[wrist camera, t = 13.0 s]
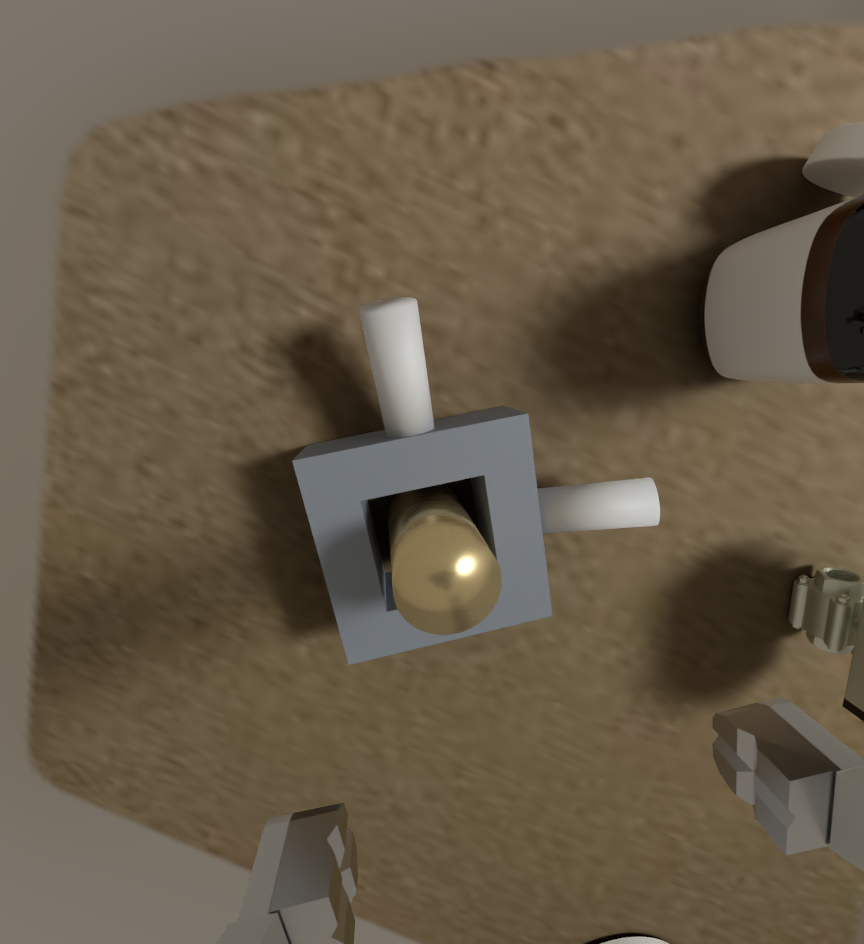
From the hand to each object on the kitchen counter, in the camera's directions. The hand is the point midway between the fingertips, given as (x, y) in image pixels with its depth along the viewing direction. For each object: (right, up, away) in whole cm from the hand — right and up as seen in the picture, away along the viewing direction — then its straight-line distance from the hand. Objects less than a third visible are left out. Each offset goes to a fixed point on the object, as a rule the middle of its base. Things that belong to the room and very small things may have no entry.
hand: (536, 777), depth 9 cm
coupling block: (0, +7, +15) cm, 16 cm away
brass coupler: (-3, +4, +15) cm, 16 cm away
